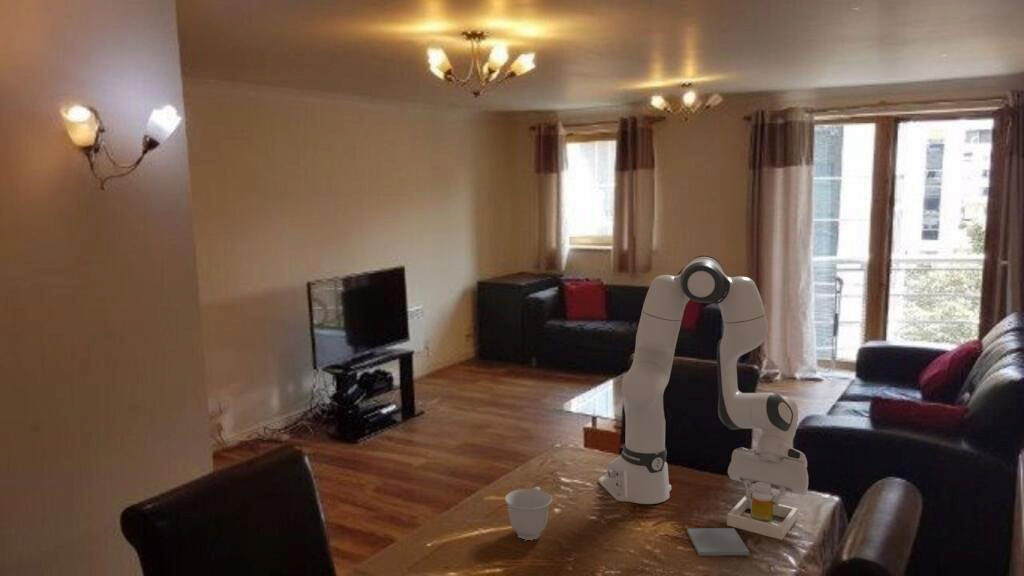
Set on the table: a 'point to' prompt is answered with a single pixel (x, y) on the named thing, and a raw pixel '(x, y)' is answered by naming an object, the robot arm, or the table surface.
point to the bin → (759, 526)
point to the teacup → (528, 511)
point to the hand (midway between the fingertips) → (761, 501)
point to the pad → (717, 541)
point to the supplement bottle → (762, 502)
